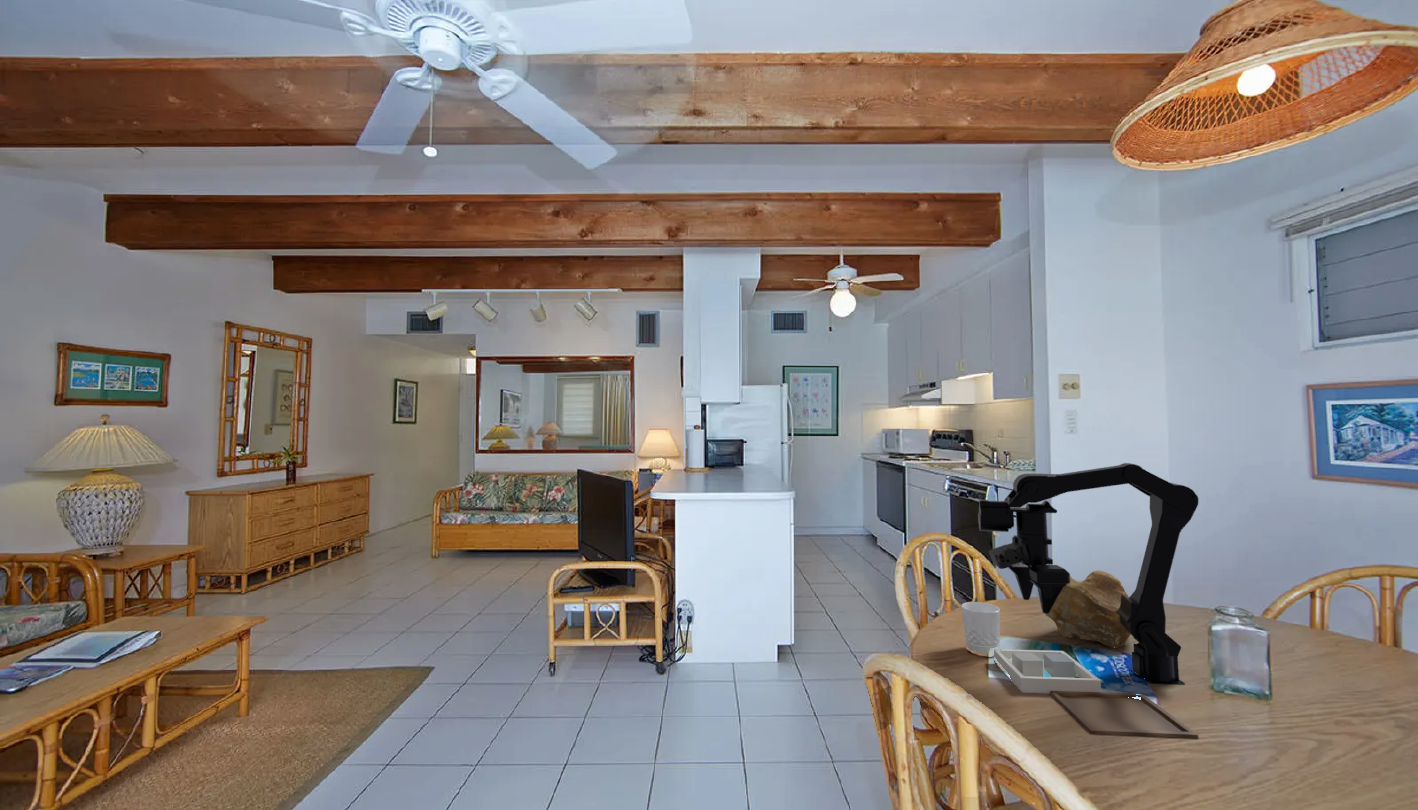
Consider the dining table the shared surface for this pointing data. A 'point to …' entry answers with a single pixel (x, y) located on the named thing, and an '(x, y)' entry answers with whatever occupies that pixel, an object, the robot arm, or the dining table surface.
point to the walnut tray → (1121, 714)
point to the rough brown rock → (1091, 609)
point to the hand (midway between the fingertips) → (1035, 606)
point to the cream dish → (1047, 683)
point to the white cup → (981, 626)
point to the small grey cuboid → (1028, 664)
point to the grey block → (1059, 665)
